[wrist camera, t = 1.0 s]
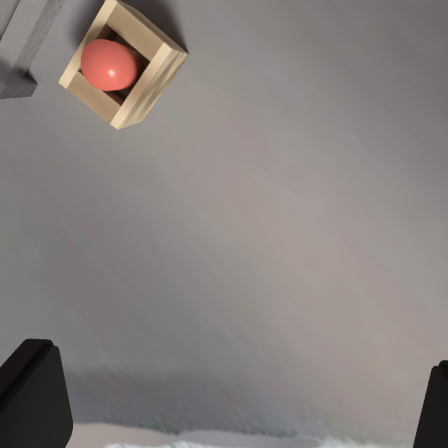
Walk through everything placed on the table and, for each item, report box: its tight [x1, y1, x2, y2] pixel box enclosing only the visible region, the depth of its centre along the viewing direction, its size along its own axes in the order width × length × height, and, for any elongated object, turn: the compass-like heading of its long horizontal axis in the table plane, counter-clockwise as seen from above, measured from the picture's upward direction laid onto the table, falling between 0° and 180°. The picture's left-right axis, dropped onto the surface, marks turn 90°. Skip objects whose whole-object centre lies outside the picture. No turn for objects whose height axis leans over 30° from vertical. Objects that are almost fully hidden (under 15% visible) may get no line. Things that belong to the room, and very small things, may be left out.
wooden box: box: [59, 0, 189, 130], centre depth 34 cm, size 8×6×7 cm
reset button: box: [81, 39, 142, 91], centre depth 30 cm, size 4×4×4 cm
